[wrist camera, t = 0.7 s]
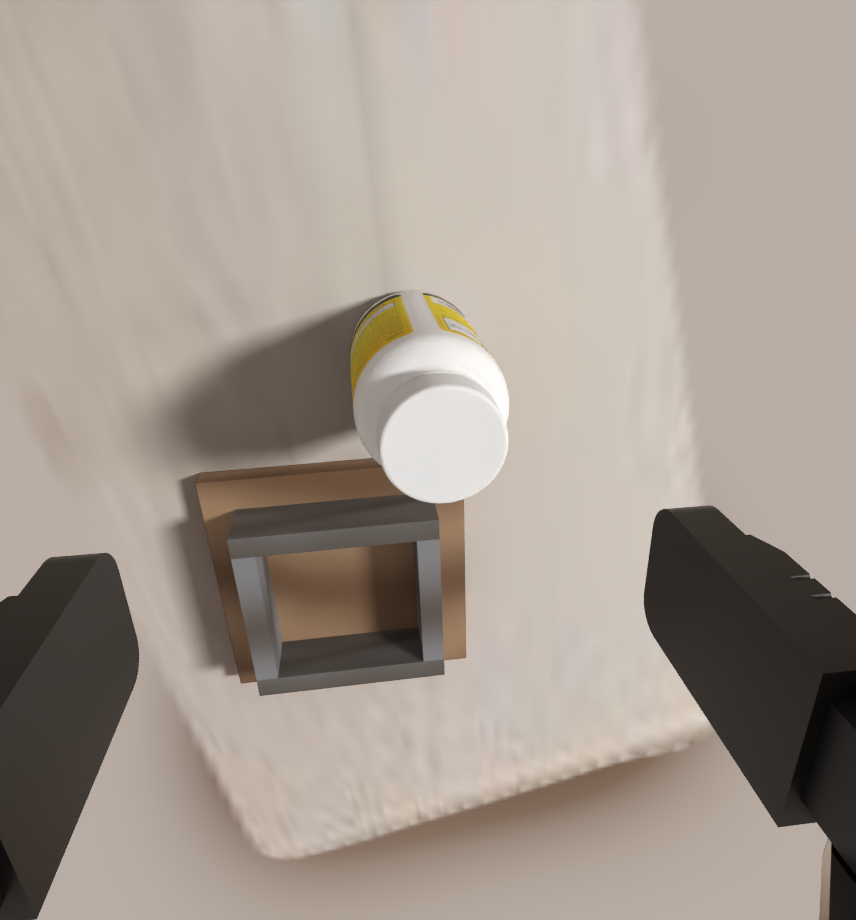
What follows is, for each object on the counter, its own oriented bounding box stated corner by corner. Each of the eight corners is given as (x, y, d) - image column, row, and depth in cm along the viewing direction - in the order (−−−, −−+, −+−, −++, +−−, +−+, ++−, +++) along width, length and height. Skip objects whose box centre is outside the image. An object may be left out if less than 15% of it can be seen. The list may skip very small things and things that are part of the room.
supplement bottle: (352, 411, 29) (355, 527, 20) (347, 288, 27) (348, 361, 18) (470, 407, 30) (524, 519, 21) (476, 287, 27) (539, 356, 18)
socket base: (199, 473, 29) (182, 512, 26) (459, 450, 30) (473, 486, 27) (243, 669, 35) (233, 721, 32) (463, 645, 36) (474, 692, 33)
